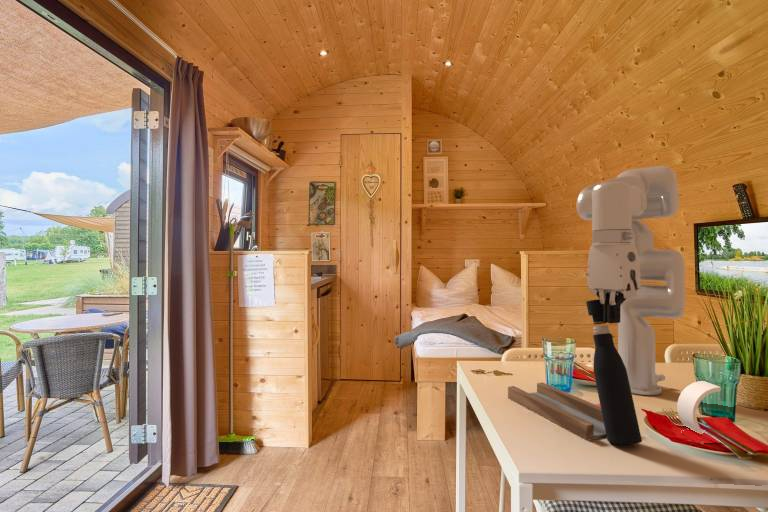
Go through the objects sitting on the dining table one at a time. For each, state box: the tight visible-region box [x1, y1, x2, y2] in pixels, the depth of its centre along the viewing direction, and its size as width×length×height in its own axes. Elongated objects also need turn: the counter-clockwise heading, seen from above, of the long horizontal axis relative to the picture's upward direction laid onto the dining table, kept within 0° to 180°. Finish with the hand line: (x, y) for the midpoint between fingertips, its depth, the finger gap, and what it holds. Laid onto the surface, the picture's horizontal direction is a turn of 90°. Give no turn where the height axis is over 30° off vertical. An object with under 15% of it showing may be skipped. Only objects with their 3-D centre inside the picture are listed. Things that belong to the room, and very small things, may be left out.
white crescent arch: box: [676, 380, 722, 444], centre depth 87 cm, size 5×6×12 cm
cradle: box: [507, 382, 607, 441], centre depth 101 cm, size 12×28×3 cm, turn 19°
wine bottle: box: [585, 298, 643, 445], centre depth 87 cm, size 6×6×30 cm
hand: (611, 322), depth 87 cm, fingers closed
